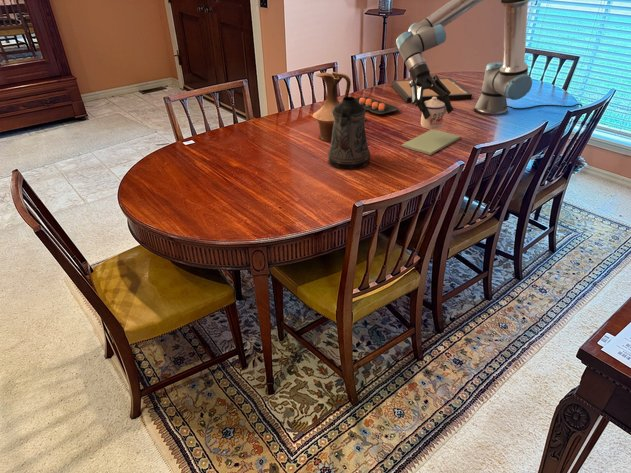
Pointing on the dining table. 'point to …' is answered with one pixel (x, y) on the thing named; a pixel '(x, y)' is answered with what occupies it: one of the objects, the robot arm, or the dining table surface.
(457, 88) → the cork board
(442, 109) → the teacup with lid
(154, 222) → the dining table surface
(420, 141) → the mat
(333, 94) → the pitcher
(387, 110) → the sushi plate
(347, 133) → the beer stein
